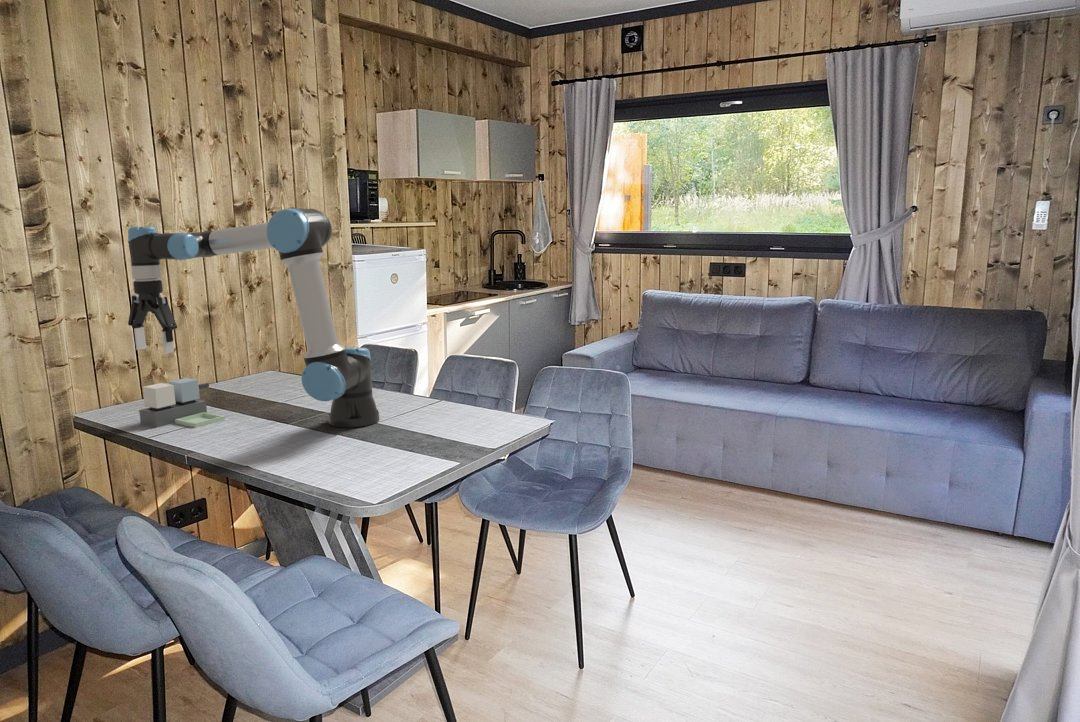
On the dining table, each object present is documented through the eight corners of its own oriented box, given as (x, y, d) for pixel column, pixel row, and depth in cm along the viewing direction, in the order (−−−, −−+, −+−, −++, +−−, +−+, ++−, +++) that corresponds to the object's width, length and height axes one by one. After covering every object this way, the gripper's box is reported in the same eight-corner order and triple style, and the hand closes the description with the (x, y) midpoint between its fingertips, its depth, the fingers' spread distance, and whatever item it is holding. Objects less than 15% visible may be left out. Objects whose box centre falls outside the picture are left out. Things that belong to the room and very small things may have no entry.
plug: (158, 424, 226) (155, 388, 224) (146, 422, 229) (142, 386, 227) (177, 420, 231) (173, 384, 229) (165, 417, 234) (161, 382, 232)
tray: (224, 421, 233) (224, 416, 232) (196, 429, 224) (195, 423, 224) (204, 417, 238) (203, 412, 237) (175, 425, 229) (174, 419, 229)
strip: (218, 413, 243) (214, 376, 240) (157, 429, 225) (152, 390, 223) (202, 410, 247) (198, 374, 244) (140, 426, 229) (136, 387, 227)
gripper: (185, 280, 219) (192, 352, 223) (134, 277, 232) (141, 346, 236) (161, 282, 213) (169, 356, 217) (110, 279, 225) (118, 349, 229)
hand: (155, 351), depth 226 cm, fingers open, 13 cm apart
